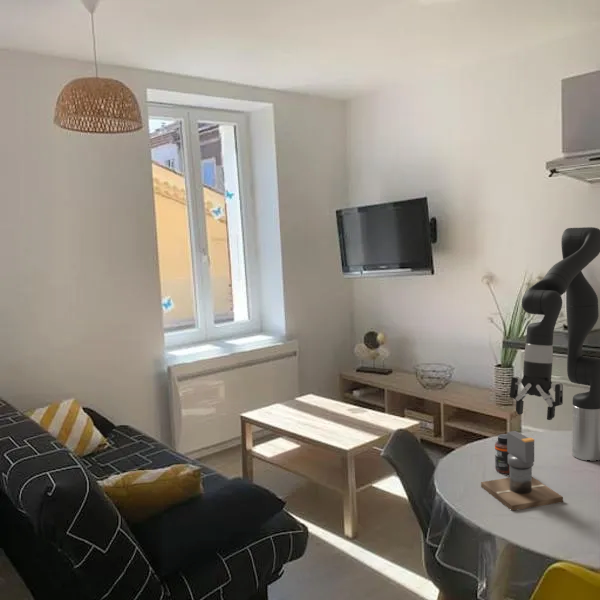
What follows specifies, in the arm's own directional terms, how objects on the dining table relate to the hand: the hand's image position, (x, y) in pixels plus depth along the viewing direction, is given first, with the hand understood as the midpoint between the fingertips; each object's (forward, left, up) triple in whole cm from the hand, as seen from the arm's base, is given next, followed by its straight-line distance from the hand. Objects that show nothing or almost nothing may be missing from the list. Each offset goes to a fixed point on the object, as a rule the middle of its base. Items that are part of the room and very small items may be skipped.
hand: (534, 416), depth 171 cm
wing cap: (+4, -1, -14) cm, 14 cm away
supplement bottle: (-1, -17, -23) cm, 28 cm away
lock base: (+4, -1, -23) cm, 23 cm away
